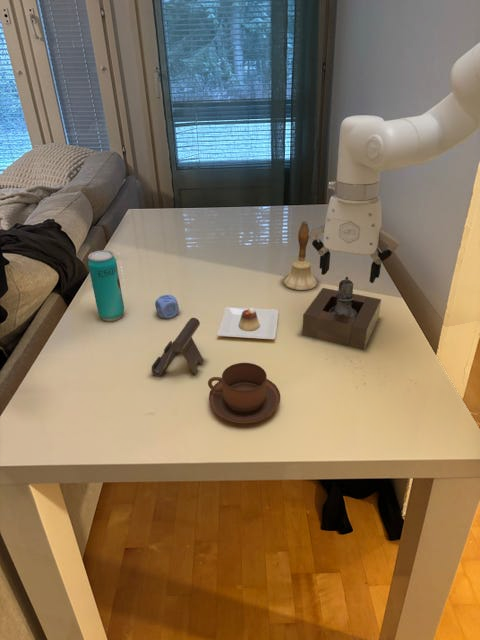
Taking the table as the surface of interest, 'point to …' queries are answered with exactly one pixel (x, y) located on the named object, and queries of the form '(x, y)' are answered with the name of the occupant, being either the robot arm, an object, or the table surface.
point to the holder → (341, 319)
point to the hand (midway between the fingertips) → (348, 276)
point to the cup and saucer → (243, 394)
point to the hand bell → (301, 265)
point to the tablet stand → (181, 349)
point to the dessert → (249, 323)
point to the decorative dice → (167, 306)
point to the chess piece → (344, 299)
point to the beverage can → (106, 285)
